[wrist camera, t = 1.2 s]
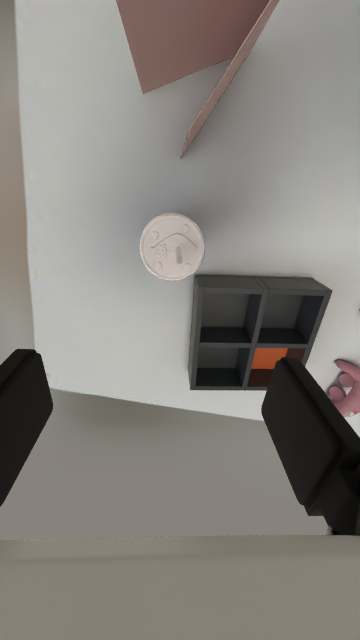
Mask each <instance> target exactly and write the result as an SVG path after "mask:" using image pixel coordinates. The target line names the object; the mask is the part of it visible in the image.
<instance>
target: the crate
mask: <svg viewBox="0 0 360 640" xmlns="http://www.w3.org/2000/svg"><path fill="white" fill-rule="evenodd" d="M331 293H332V290H331V289H329V288H327V287H326V286H324V285H323V284H321V283H319V282H318V281H316V280H314V279H313V278H297V277H262V276H227V275H195V279H194V294H193V308H192V322H191V336H190V350H189V364H188V373H189V383H190V390H267V389H268V385H269V382H270V379H271V376H272V373H273V370H274V366H275V363H276V361H278V360H279V361H280V359H281V358H282V357H296V358H298V359H299V360H300V361H301V363H302V364H303V365H304V367H305V365H306V363H307V360H308V357H309V354H310V352H311V349H312V346H313V343H314V341H315V338H316V335H317V332H318V329H319V327H320V324H321V321H322V318H323V316H324V313H325V310H326V307H327V305H328V302H329V299H330V296H331Z"/></svg>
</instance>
